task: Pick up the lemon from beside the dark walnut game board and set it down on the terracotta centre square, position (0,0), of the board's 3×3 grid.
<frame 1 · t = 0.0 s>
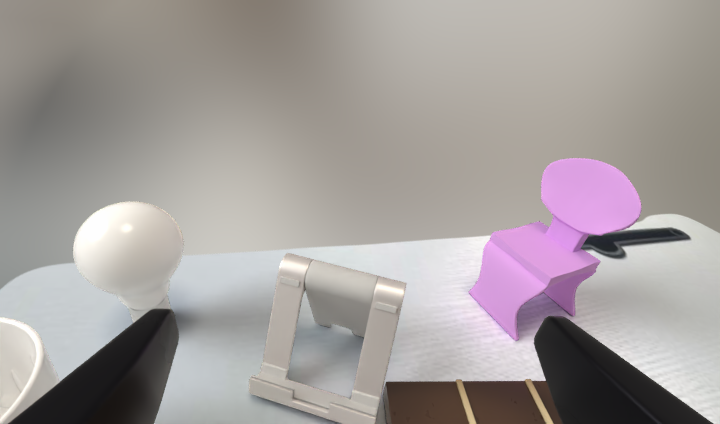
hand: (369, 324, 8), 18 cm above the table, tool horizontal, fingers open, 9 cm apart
toy chair: (518, 305, 35), on the table
tablet stand: (327, 370, 27), on the table
lightbulb: (155, 325, 28), on the table
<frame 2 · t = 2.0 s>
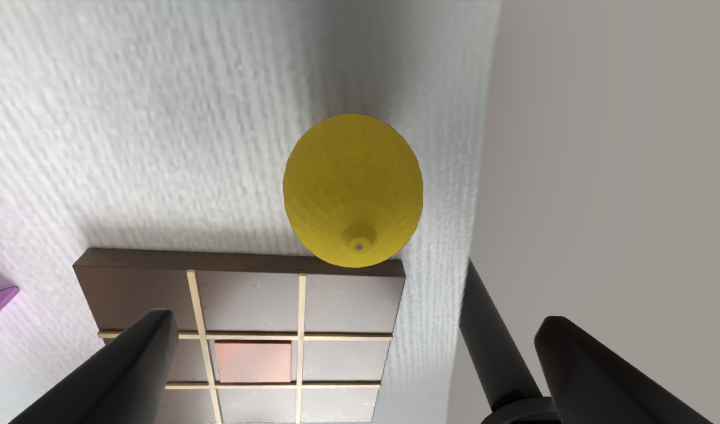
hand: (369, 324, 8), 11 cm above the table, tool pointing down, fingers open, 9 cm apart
lemon: (348, 148, 18), on the table
board: (258, 342, 25), on the table
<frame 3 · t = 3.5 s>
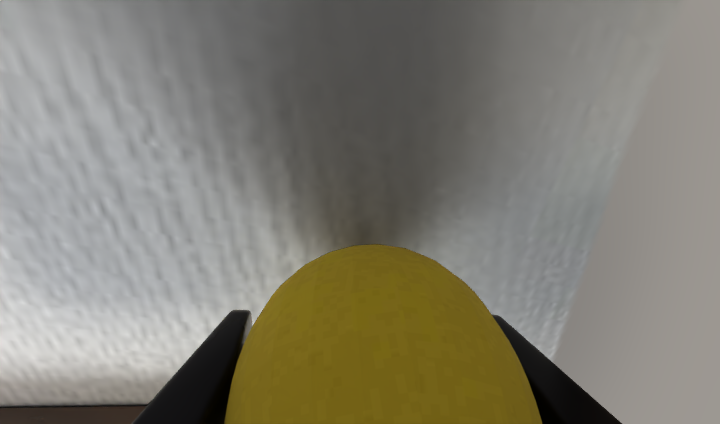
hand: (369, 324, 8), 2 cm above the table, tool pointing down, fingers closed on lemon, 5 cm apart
lemon: (361, 263, 10), on the table, touching gripper
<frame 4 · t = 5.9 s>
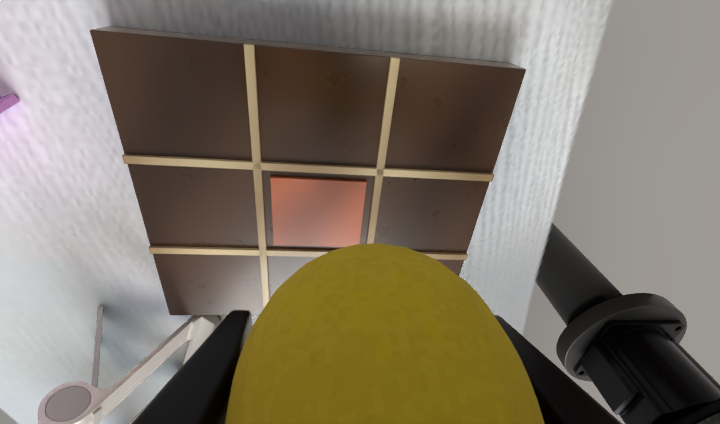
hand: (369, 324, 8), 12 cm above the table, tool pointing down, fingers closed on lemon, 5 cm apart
lemon: (361, 262, 10), point 10 cm above the table, touching gripper
tablet stand: (160, 335, 25), on the table
board: (318, 199, 20), on the table
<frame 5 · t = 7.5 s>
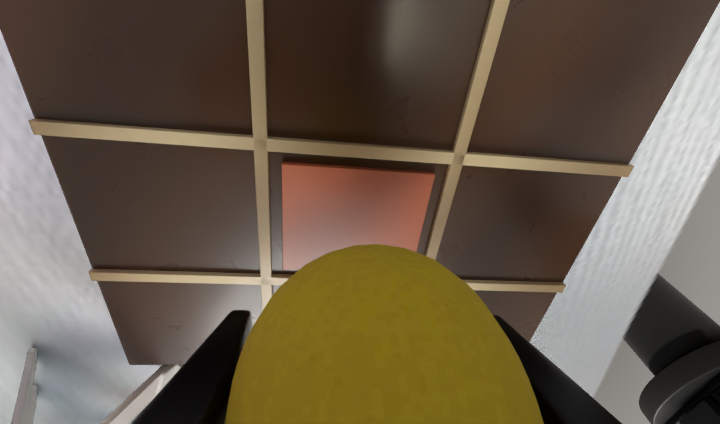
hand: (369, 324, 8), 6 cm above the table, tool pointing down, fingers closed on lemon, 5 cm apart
lemon: (361, 263, 10), point 4 cm above the table, touching gripper
tablet stand: (121, 383, 18), on the table
board: (351, 200, 13), on the table
when the fingers open (4 cm above the table, at t = 8.6 s): lemon stays where it is, resting on board.
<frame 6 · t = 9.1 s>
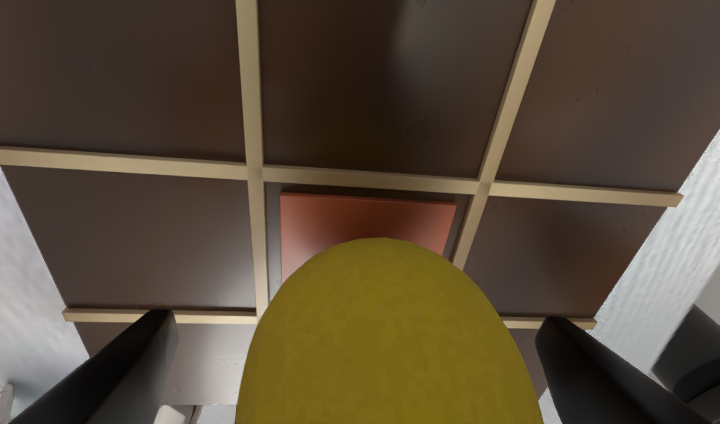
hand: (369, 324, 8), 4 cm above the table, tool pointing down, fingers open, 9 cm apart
lemon: (364, 257, 11), point 2 cm above the table, touching board
tablet stand: (107, 418, 17), on the table
board: (358, 228, 12), on the table
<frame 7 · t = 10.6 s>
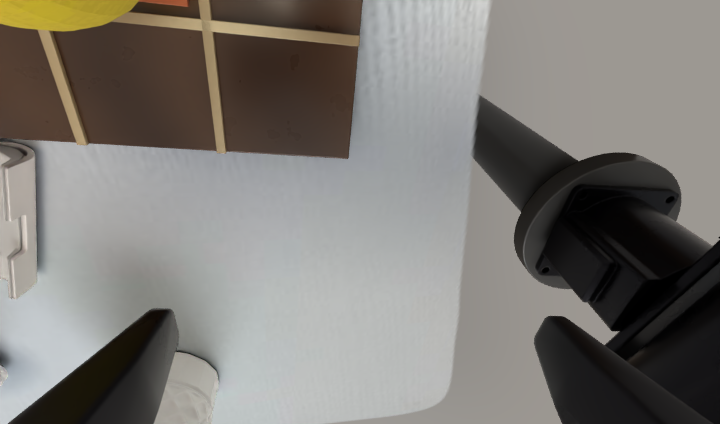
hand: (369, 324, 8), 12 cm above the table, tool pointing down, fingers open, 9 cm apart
white cup: (175, 374, 28), on the table
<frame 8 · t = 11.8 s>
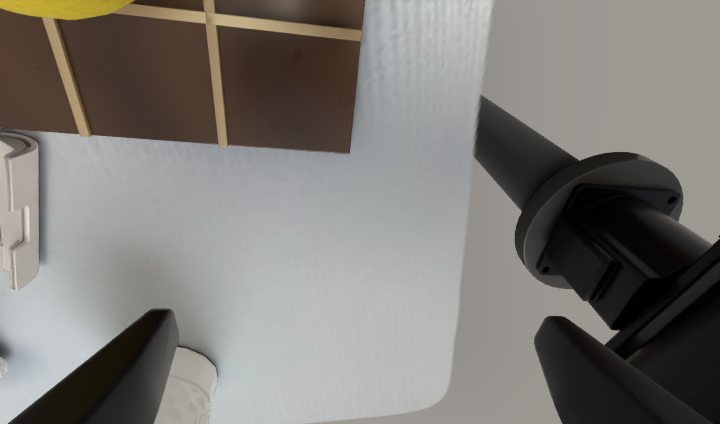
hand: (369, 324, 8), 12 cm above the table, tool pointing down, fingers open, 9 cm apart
white cup: (175, 369, 28), on the table
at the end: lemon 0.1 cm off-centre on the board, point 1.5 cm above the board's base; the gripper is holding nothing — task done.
